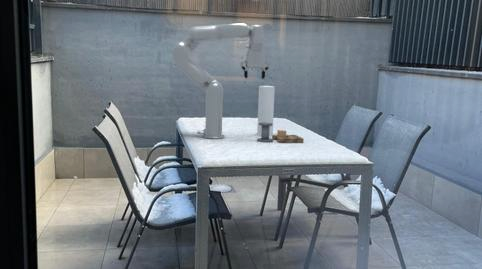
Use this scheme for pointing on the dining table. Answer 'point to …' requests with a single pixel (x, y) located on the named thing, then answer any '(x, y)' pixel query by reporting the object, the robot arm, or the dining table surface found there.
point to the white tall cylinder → (266, 107)
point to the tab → (281, 133)
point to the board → (288, 139)
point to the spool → (265, 132)
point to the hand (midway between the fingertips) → (254, 78)
